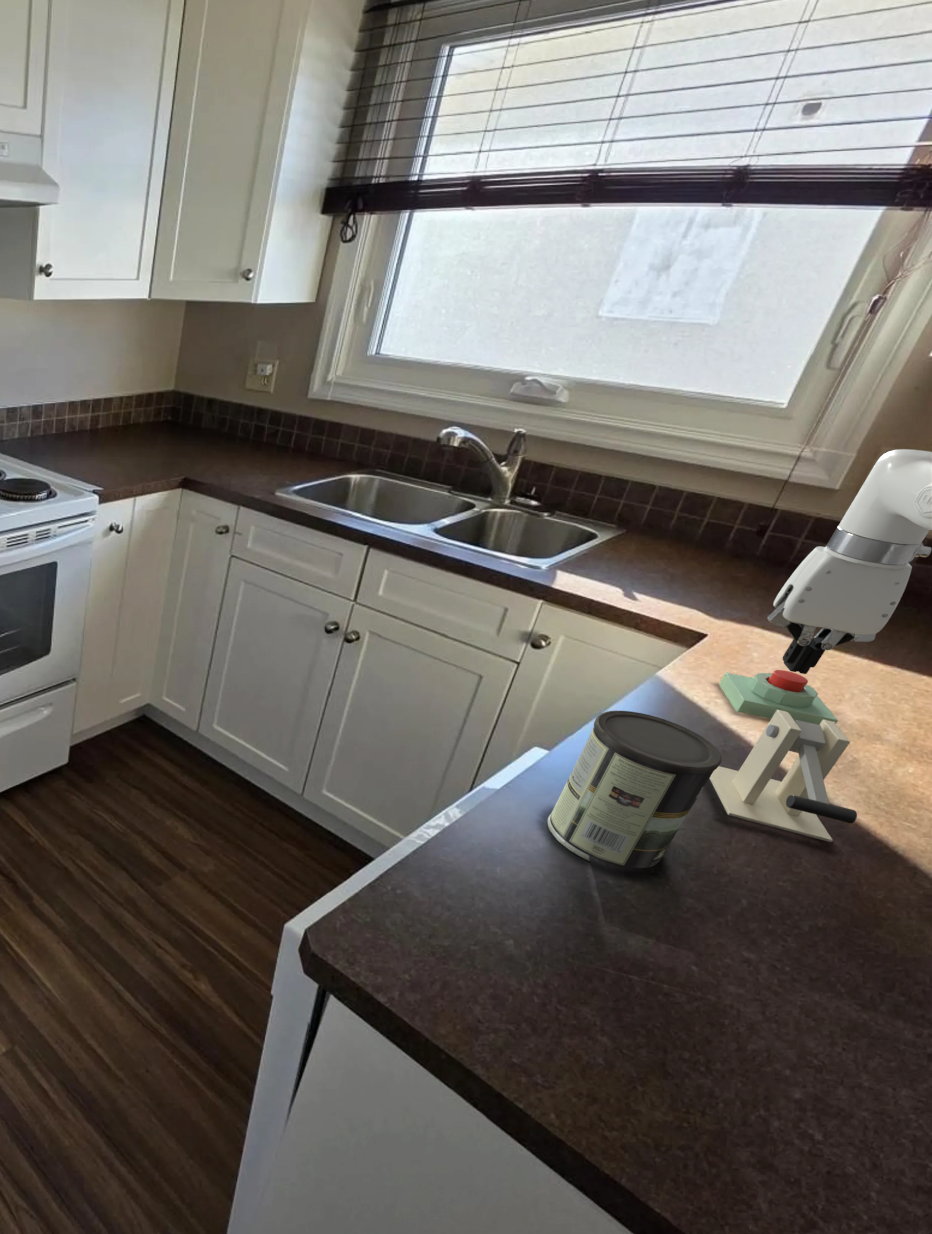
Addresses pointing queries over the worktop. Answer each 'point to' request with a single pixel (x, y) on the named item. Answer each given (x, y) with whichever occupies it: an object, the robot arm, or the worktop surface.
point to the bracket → (765, 797)
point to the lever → (815, 777)
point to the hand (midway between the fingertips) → (794, 668)
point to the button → (788, 681)
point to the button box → (773, 699)
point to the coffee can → (631, 788)
